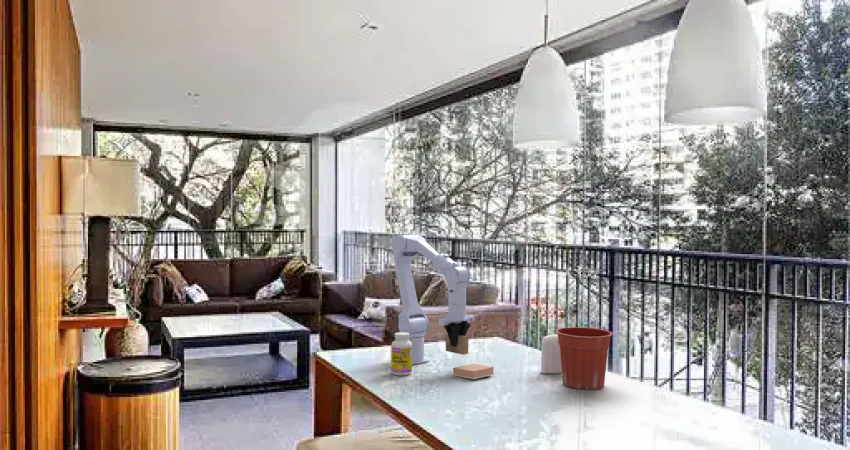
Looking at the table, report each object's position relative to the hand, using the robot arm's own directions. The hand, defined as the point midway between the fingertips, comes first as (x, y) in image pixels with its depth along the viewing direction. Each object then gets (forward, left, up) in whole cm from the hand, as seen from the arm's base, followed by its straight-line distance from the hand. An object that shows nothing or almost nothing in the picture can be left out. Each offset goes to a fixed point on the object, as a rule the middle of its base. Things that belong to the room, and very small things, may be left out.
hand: (456, 345), depth 212 cm
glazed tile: (+3, 0, -7) cm, 8 cm away
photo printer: (+22, +24, -9) cm, 34 cm away
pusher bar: (0, 0, -2) cm, 2 cm away
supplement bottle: (-9, -16, -9) cm, 20 cm away
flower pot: (+37, +17, -9) cm, 41 cm away
